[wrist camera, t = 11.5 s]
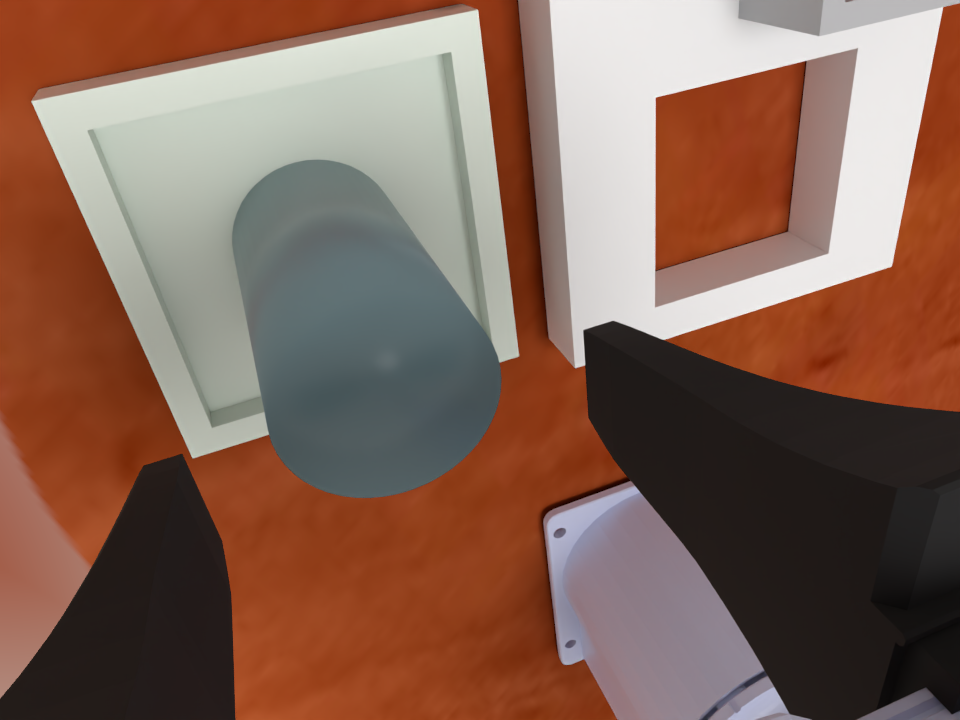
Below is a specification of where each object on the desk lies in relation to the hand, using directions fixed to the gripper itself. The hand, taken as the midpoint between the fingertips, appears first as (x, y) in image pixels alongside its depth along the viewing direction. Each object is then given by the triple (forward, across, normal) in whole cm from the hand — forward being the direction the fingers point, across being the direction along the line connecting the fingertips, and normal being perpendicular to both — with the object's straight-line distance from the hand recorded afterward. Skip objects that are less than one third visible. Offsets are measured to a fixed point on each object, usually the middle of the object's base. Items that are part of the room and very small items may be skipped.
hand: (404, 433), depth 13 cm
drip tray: (+9, 0, 0) cm, 9 cm away
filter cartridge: (+9, 0, 0) cm, 9 cm away
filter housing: (+9, -12, -2) cm, 16 cm away
